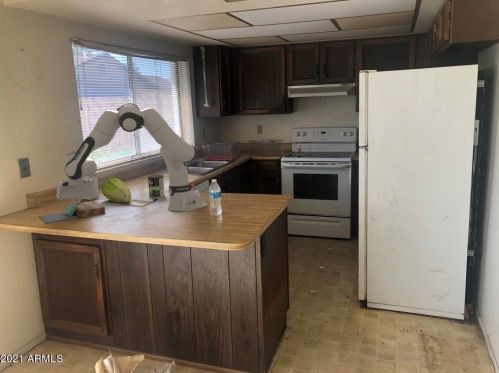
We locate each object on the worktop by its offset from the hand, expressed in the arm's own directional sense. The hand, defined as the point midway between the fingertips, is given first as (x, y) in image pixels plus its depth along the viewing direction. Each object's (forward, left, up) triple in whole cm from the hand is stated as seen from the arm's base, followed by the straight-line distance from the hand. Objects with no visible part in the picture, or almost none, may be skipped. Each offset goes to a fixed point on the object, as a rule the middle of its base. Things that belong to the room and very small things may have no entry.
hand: (77, 205), depth 243 cm
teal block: (+3, 0, -3) cm, 4 cm away
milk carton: (-19, -38, -5) cm, 43 cm away
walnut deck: (-5, 0, -5) cm, 7 cm away
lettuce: (-30, -16, -5) cm, 34 cm away
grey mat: (+11, 0, -5) cm, 12 cm away
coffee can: (-54, -11, -5) cm, 55 cm away
